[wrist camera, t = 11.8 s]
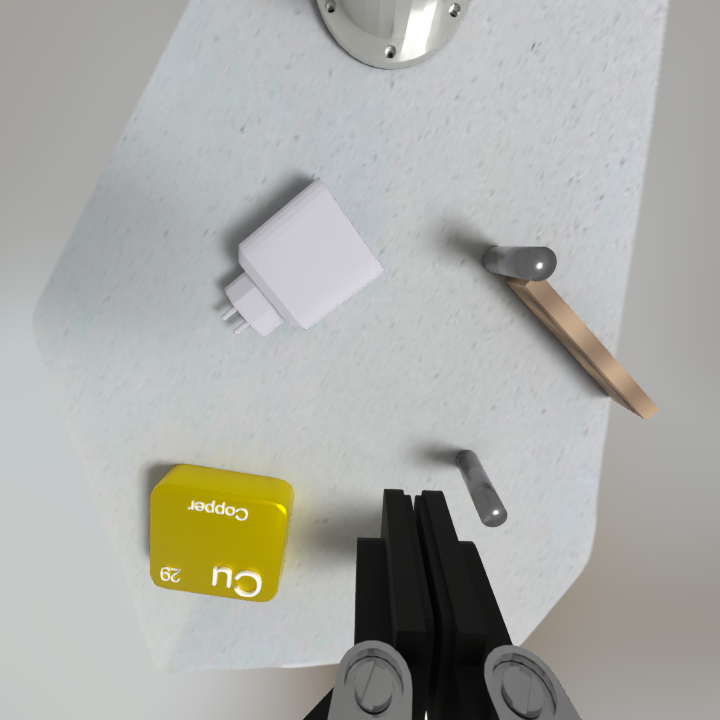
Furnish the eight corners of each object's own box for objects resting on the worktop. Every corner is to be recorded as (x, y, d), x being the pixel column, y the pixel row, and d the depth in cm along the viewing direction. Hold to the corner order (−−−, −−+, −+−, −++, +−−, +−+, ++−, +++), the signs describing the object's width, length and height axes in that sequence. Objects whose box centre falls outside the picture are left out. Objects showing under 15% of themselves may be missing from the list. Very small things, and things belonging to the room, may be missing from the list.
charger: (205, 284, 35) (324, 184, 32) (266, 355, 38) (383, 268, 35) (182, 289, 31) (317, 174, 28) (253, 370, 33) (385, 271, 30)
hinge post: (484, 246, 34) (525, 246, 25) (509, 247, 34) (559, 247, 25) (480, 272, 34) (519, 281, 26) (505, 273, 34) (552, 282, 26)
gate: (504, 281, 34) (524, 286, 30) (517, 268, 34) (539, 272, 29) (613, 400, 38) (644, 420, 34) (626, 390, 37) (660, 409, 33)
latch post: (457, 449, 40) (482, 504, 32) (478, 450, 40) (509, 505, 32) (454, 468, 41) (478, 526, 33) (475, 468, 41) (505, 527, 33)
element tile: (297, 479, 42) (288, 507, 38) (282, 574, 47) (274, 610, 42) (169, 459, 42) (145, 485, 37) (167, 557, 46) (146, 591, 42)
